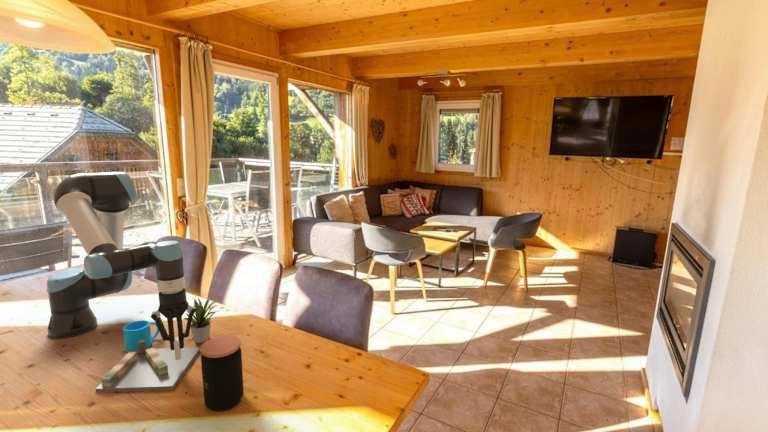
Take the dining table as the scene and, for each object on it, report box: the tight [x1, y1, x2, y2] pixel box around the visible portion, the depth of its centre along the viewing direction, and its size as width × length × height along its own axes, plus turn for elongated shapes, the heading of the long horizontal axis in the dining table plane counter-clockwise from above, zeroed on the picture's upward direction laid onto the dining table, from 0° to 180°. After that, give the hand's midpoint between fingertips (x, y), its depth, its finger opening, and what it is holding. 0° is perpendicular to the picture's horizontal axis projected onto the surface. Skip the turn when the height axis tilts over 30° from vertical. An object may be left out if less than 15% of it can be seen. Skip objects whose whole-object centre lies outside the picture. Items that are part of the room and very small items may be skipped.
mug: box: [122, 319, 160, 352], centre depth 141 cm, size 12×8×8 cm
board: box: [95, 347, 201, 393], centre depth 126 cm, size 22×22×1 cm
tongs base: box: [100, 340, 146, 387], centre depth 125 cm, size 20×5×4 cm, turn 5°
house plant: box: [183, 296, 220, 344], centre depth 144 cm, size 14×14×16 cm
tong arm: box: [145, 346, 168, 376], centre depth 127 cm, size 15×2×2 cm, turn 45°
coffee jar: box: [199, 334, 244, 412], centre depth 111 cm, size 11×11×18 cm
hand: (178, 357), depth 126 cm, fingers closed
